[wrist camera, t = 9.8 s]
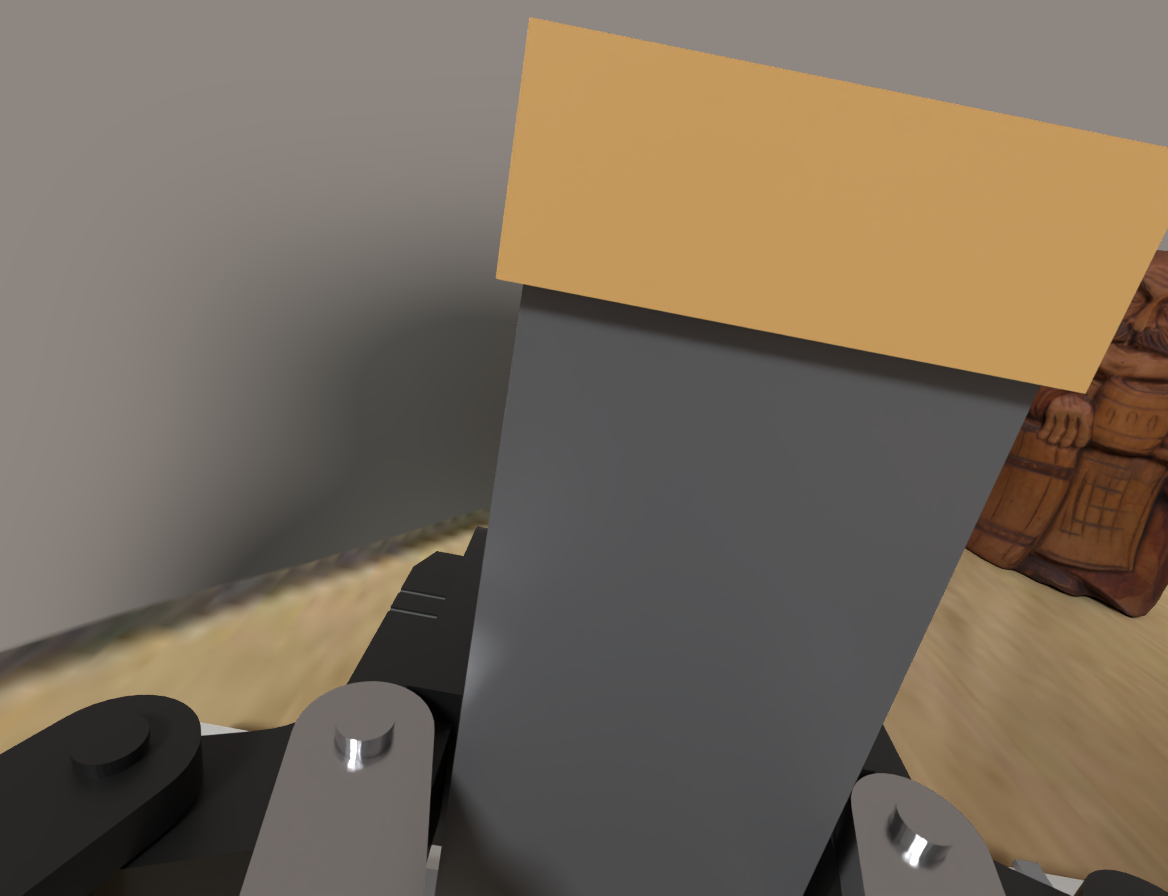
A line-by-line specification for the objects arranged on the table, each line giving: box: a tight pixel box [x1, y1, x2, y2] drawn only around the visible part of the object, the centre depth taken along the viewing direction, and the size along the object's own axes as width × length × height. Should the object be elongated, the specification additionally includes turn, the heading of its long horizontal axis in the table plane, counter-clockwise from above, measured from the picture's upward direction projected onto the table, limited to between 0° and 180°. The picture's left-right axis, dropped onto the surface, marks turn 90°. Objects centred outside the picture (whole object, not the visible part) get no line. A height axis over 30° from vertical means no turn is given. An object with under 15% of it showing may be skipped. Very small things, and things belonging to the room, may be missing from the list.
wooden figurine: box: [965, 250, 1168, 617], centre depth 34 cm, size 12×6×18 cm, turn 49°
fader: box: [434, 17, 1168, 896], centre depth 8 cm, size 4×4×14 cm
